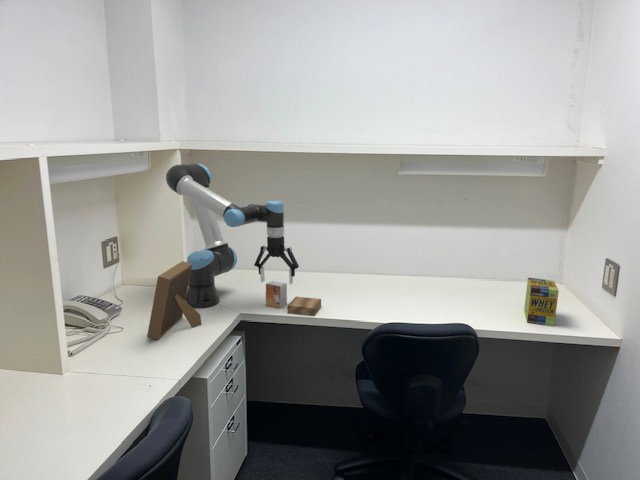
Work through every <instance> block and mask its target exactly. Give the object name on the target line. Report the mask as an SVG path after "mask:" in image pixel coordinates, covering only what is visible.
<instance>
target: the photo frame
mask: <svg viewBox="0 0 640 480" xmlns="http://www.w3.org/2000/svg"><path fill="white" fill-rule="evenodd" d="M192 265H193V264H191V263H188V262H187V261H183V260H182V261H180V262H179V263H177V264H175V265H174V266H172V267H170V268H169V269H167V270H166V271H164V272H163V273H161V274H159V275H157V281H156V284H155V285H156V286H155V290H154V296H153V301H152V308H151V313H150V317H149V318H150V319H149V325H148V328H147V333H146V334H147V335H146V338H148V339H153V340H155V341H159V340H160V339H162V337H164V336H165V335H166V334H167V333H166V332H169V331H170V330H171V329H172V328H173V327H174V326H175V325H176V324H178V323H179V322H180V321H181V320H182V319H183V315H184V316H185V319H186V320H187V322H188V324H189V325H190V327H191V328H196V327H198V326H202V318H201V313H199V312H198V311H197V310H196V308H193V307H191V306H190V305H189V304H188V303H187V302H186V301H185V300H186V295H187V291H188V285H189V280H190V275H191V270H192Z"/></svg>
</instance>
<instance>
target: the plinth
mask: <svg viewBox="0 0 640 480" xmlns="http://www.w3.org/2000/svg"><path fill="white" fill-rule="evenodd" d="M286 306H287V314H292V315H301V316H308V315H309V316H308V317H310V316H311V317H315V315H317V313H318V312H319V310H320V309H321V307H322V298H315V297H303V296H295V297H294V298H293V299H292V300H290V302H289V303H287V305H286Z"/></svg>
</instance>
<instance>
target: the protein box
mask: <svg viewBox="0 0 640 480" xmlns="http://www.w3.org/2000/svg"><path fill="white" fill-rule="evenodd" d="M558 299H559V289H558V286H557V284H556V283H555V280H552V279H551V280H550V279H544V278H535V277H527V283H526V292H525V301H524V310H523V311H524V315H525V319H526V320H525V321H526V323H527V324H535V325H543V326H549V327H555V321H556V317H557V316H556V314H557V306H558Z"/></svg>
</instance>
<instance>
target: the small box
mask: <svg viewBox="0 0 640 480" xmlns="http://www.w3.org/2000/svg"><path fill="white" fill-rule="evenodd" d="M287 292H288V282H281V281H275V280H270V281H269V282H266V283H265V306H267V307H268V306H269V307H272V308H277V309H282V308H283V307H285V306H287V305H288V295H287V294H288V293H287Z"/></svg>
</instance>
